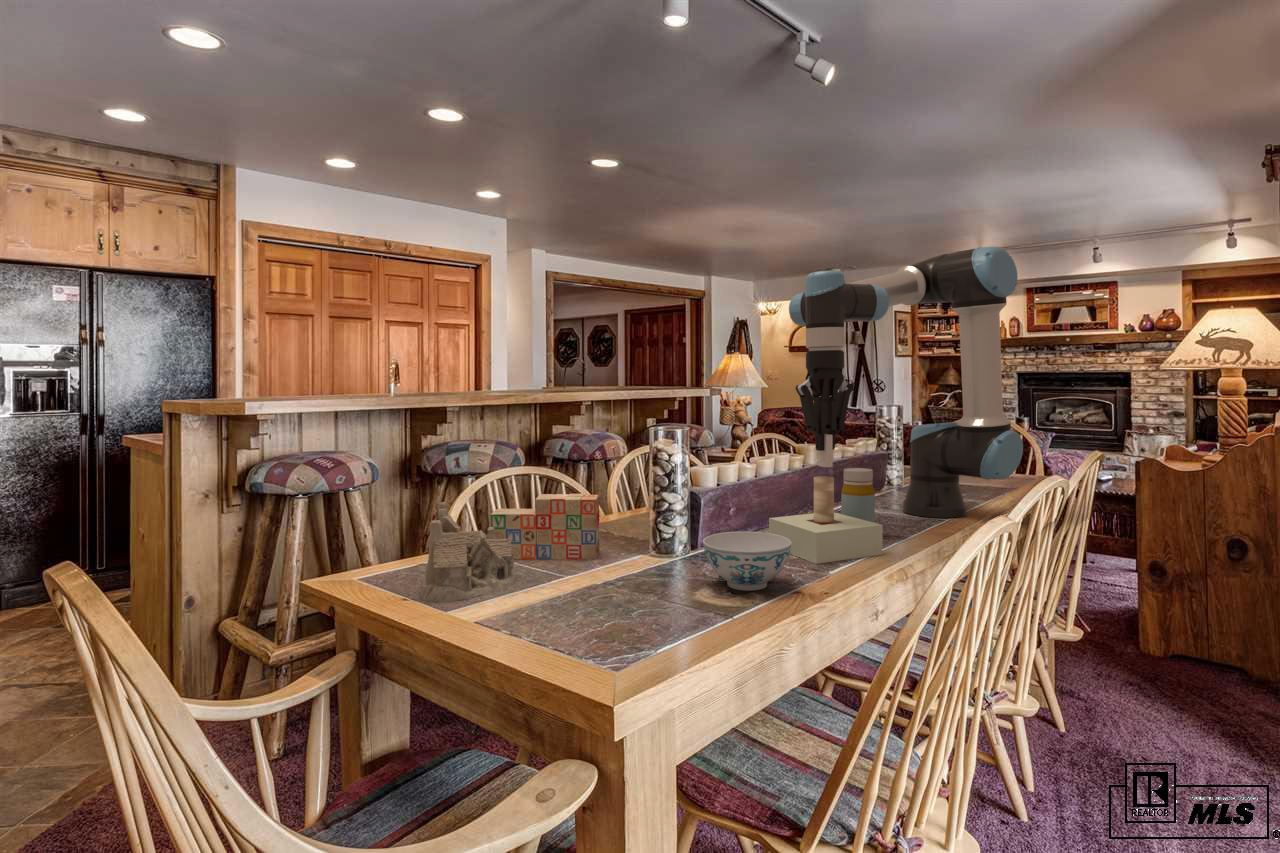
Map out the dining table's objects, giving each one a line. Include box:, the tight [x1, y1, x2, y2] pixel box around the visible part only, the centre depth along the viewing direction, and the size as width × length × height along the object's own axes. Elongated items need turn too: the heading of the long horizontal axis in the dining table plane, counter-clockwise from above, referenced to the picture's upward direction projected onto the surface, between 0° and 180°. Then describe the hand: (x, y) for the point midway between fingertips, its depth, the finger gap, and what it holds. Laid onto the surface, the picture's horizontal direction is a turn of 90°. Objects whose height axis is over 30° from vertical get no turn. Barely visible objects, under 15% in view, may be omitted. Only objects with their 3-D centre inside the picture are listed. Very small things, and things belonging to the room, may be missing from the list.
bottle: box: [840, 467, 876, 523], centre depth 158 cm, size 7×7×15 cm
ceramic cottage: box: [419, 501, 516, 603], centre depth 125 cm, size 16×16×15 cm
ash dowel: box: [813, 475, 835, 525], centre depth 146 cm, size 4×4×14 cm
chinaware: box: [702, 531, 792, 592], centre depth 123 cm, size 15×15×8 cm
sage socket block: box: [768, 511, 884, 565], centre depth 147 cm, size 16×16×6 cm
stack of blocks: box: [489, 493, 600, 560], centre depth 146 cm, size 21×6×12 cm, turn 87°
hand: (825, 466), depth 146 cm, fingers closed
